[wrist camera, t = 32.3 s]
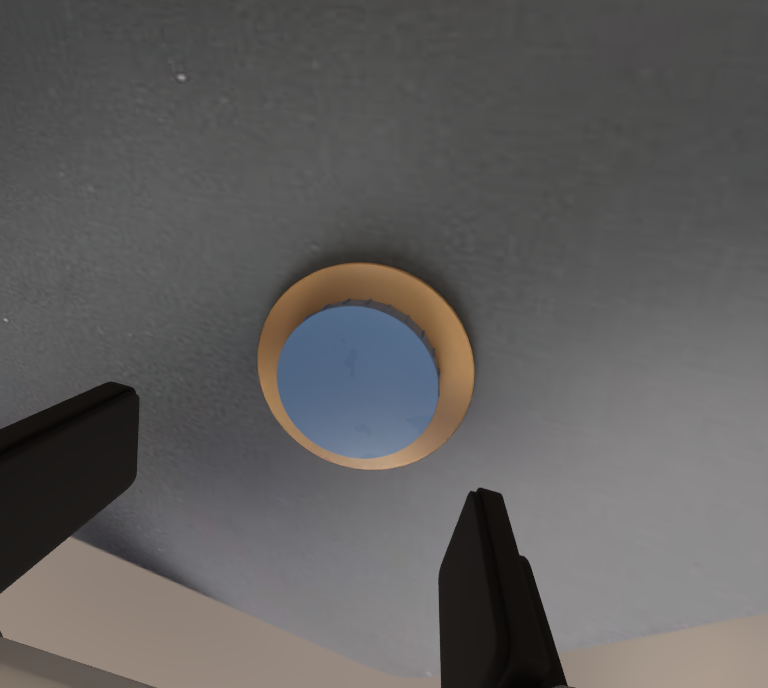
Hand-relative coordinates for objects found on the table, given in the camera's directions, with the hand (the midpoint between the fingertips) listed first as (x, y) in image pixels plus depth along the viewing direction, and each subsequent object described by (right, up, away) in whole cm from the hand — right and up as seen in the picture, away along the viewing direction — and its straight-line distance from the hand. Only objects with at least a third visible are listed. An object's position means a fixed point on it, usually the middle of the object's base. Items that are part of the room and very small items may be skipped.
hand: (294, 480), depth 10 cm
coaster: (+1, +2, +7) cm, 8 cm away
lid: (+1, +2, +5) cm, 6 cm away
